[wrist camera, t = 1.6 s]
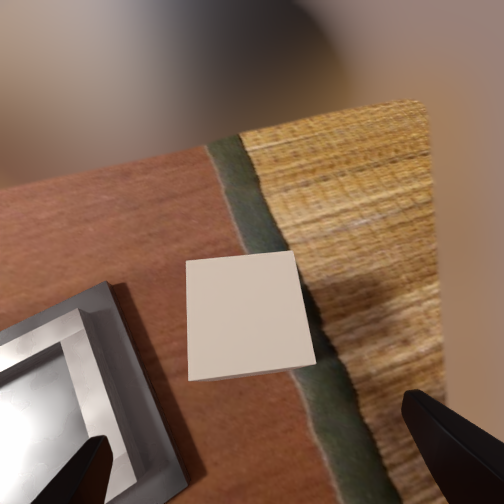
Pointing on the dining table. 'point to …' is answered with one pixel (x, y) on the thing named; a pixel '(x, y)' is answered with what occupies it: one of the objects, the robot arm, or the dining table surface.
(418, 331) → the dining table surface
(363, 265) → the dining table surface
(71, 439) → the locating plate
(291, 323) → the square block
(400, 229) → the dining table surface
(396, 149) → the dining table surface
